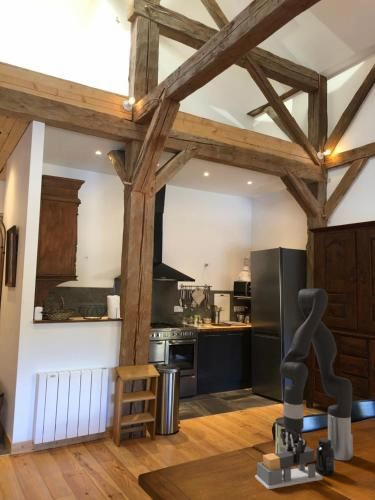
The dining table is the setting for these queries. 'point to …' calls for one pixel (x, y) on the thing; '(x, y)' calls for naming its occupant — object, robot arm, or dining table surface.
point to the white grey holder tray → (286, 475)
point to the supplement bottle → (325, 457)
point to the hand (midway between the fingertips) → (293, 461)
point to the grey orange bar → (286, 459)
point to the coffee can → (280, 436)
